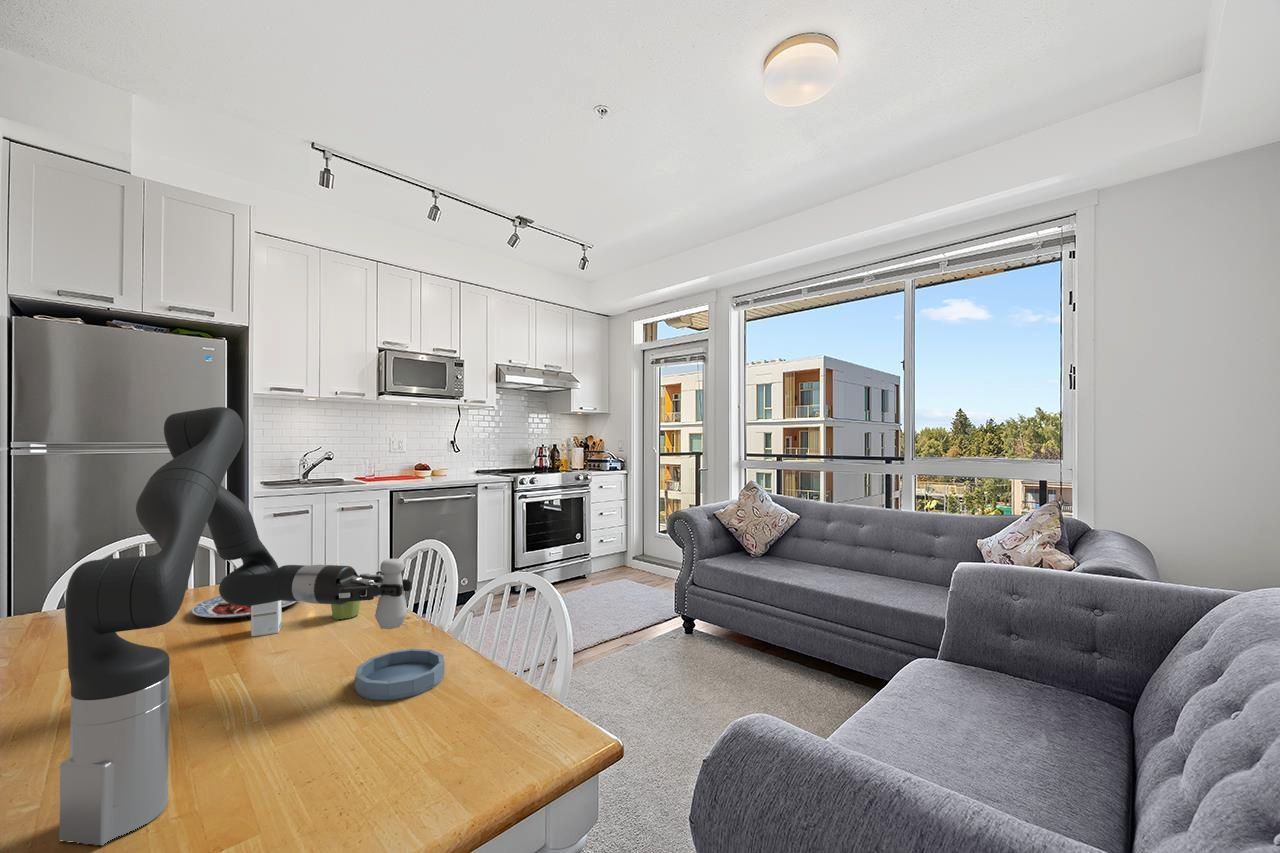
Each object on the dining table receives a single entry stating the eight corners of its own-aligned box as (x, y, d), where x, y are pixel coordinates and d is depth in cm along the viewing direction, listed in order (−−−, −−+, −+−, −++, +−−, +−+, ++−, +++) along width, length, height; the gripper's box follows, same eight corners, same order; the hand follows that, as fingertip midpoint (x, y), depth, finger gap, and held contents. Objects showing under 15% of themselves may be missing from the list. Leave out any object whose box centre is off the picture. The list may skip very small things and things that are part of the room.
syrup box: (279, 633, 135) (279, 574, 135) (249, 637, 132) (250, 576, 132) (281, 626, 140) (282, 568, 140) (253, 629, 137) (254, 571, 137)
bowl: (417, 703, 100) (417, 685, 100) (336, 697, 102) (337, 680, 102) (457, 666, 116) (457, 651, 116) (386, 662, 118) (387, 647, 118)
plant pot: (317, 620, 144) (317, 587, 144) (345, 609, 153) (346, 578, 153) (345, 623, 142) (345, 590, 142) (373, 612, 151) (373, 580, 151)
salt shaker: (394, 632, 105) (396, 564, 105) (368, 629, 106) (369, 562, 106) (413, 621, 111) (414, 557, 111) (387, 619, 112) (388, 555, 112)
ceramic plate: (195, 632, 136) (195, 620, 136) (188, 607, 155) (188, 597, 155) (313, 609, 154) (313, 599, 154) (294, 590, 173) (294, 580, 173)
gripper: (300, 574, 104) (386, 578, 102) (347, 557, 117) (424, 560, 116) (299, 614, 103) (386, 619, 102) (347, 592, 117) (424, 596, 116)
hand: (406, 587), depth 109 cm, fingers closed on salt shaker, 3 cm apart
